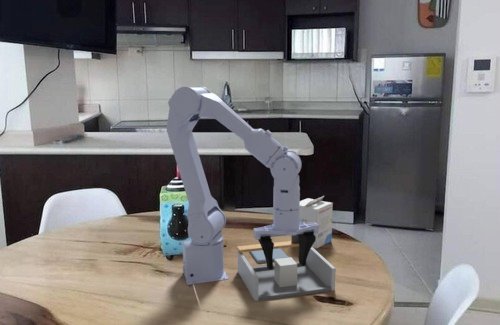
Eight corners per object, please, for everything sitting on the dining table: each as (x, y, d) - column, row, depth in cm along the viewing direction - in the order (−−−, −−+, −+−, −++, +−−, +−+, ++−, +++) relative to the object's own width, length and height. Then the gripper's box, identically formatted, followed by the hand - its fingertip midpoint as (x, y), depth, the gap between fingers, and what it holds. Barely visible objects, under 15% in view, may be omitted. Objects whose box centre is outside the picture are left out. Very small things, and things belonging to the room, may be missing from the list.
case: (254, 303, 92) (254, 277, 91) (237, 273, 106) (237, 251, 105) (334, 292, 96) (335, 268, 95) (308, 265, 110) (308, 243, 109)
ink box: (307, 235, 132) (308, 191, 129) (332, 241, 127) (333, 196, 124) (290, 243, 125) (291, 197, 123) (316, 250, 120) (317, 202, 118)
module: (279, 287, 98) (280, 265, 97) (274, 279, 101) (274, 258, 100) (297, 285, 99) (297, 263, 98) (290, 277, 102) (291, 257, 101)
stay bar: (239, 252, 103) (239, 240, 102) (237, 248, 105) (236, 236, 105) (311, 245, 108) (311, 233, 107) (307, 241, 110) (308, 229, 109)
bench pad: (258, 264, 111) (258, 260, 110) (249, 253, 118) (249, 248, 118) (288, 261, 113) (288, 257, 112) (278, 250, 120) (278, 245, 120)
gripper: (259, 215, 91) (259, 277, 94) (324, 209, 95) (323, 269, 97) (250, 206, 98) (251, 264, 100) (311, 201, 102) (310, 257, 104)
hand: (286, 266), depth 99 cm, fingers open, 7 cm apart
